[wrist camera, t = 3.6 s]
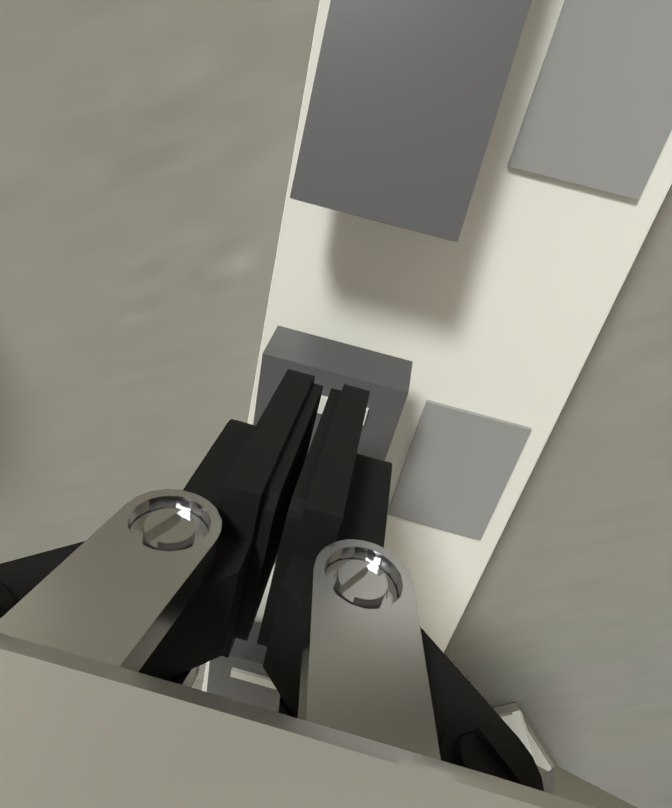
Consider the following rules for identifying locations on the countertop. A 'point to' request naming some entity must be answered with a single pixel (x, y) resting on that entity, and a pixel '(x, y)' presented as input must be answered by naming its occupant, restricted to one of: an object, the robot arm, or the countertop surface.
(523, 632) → the countertop surface
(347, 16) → the block
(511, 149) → the power strip
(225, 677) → the rocker
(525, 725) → the skyscraper
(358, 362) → the middle rocker
